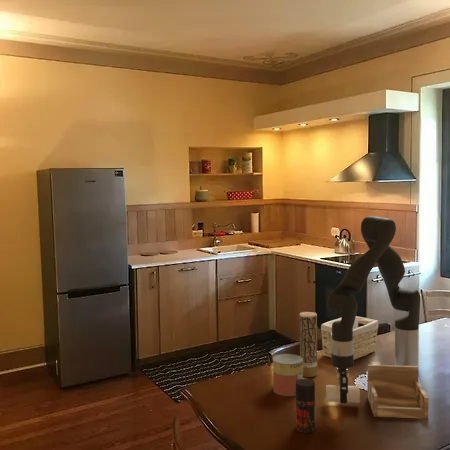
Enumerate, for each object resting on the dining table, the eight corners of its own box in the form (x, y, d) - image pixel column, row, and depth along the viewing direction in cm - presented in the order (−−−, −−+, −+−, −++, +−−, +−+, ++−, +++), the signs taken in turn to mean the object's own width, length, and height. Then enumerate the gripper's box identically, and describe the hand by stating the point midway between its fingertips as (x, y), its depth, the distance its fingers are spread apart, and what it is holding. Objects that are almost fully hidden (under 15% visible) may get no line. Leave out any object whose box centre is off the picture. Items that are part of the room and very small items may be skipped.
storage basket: (349, 344, 246) (349, 313, 245) (380, 351, 234) (380, 319, 233) (319, 356, 230) (318, 323, 229) (350, 365, 218) (350, 331, 217)
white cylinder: (326, 397, 183) (326, 382, 182) (358, 398, 181) (358, 383, 180) (327, 404, 177) (326, 389, 177) (360, 405, 176) (360, 390, 175)
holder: (367, 397, 185) (367, 364, 184) (417, 398, 183) (417, 366, 182) (373, 416, 170) (373, 381, 169) (428, 418, 168) (428, 382, 167)
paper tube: (317, 378, 204) (316, 316, 202) (299, 377, 205) (299, 315, 203) (317, 372, 211) (317, 312, 209) (300, 371, 212) (300, 311, 210)
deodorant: (294, 424, 166) (293, 379, 164) (312, 423, 166) (312, 378, 165) (298, 433, 160) (298, 386, 159) (317, 432, 160) (316, 385, 159)
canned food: (299, 397, 186) (299, 365, 185) (269, 394, 190) (269, 362, 189) (306, 386, 197) (305, 355, 196) (277, 382, 201) (276, 352, 200)
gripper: (355, 359, 170) (356, 408, 171) (351, 345, 184) (351, 390, 186) (332, 358, 171) (333, 407, 172) (330, 344, 185) (330, 390, 187)
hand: (342, 398), depth 179 cm, fingers closed on white cylinder, 5 cm apart
